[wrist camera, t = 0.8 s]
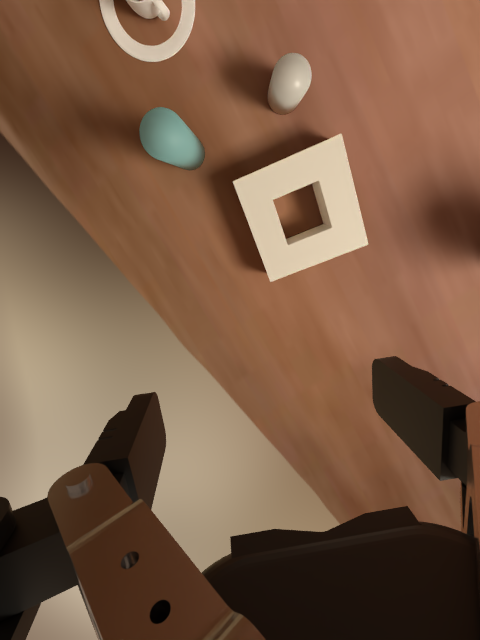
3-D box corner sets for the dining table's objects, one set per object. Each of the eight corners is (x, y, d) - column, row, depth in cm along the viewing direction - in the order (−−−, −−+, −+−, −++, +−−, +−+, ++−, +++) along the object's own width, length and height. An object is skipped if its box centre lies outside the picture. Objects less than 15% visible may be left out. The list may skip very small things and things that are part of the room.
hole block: (233, 182, 31) (232, 181, 28) (330, 139, 30) (341, 133, 27) (267, 273, 35) (270, 282, 32) (356, 239, 33) (368, 244, 30)
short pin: (262, 84, 28) (266, 64, 24) (294, 69, 28) (304, 45, 23) (273, 120, 29) (279, 107, 25) (304, 106, 29) (316, 90, 24)
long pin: (168, 143, 30) (130, 119, 20) (196, 129, 30) (173, 98, 20) (182, 175, 31) (153, 168, 21) (209, 162, 31) (193, 149, 21)
